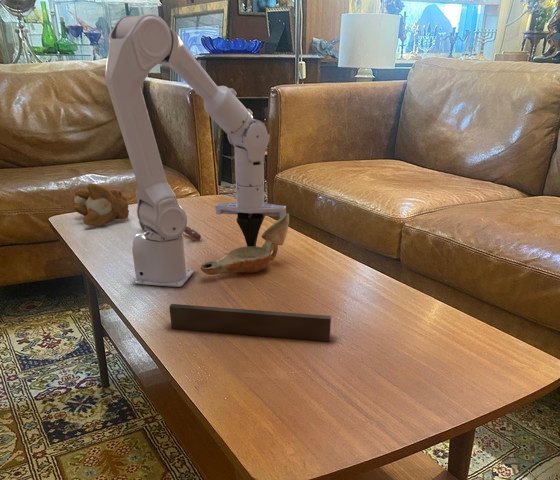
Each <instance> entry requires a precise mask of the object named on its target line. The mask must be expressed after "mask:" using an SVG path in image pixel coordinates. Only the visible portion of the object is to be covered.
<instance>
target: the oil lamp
mask: <svg viewBox="0 0 560 480" xmlns="http://www.w3.org/2000/svg"><path fill="white" fill-rule="evenodd" d="M289 225H290V214H289V212H286V216H285V217H284V218H281V217H280V218H279V219H277V221H274V223H272V224H271V225H270V226H269V227H268V228H267V229H266V230H264V232H263V233H262V235H261V238H262V240H265V241H264V243H263V244H262V246H256V247H255V246H247V245H245V246H238V247H235V248H232V249H231V250H229V251H226V252H224V256H223V257H221V258H219V259H217V260H216V259H212V260H210V261H206V262H205V261H204V262H203V263H201V264H200V267H199V268H200V270H201V271H202V273H204V274H206V275H209V276H215V275H221V274H233V273H244V274H245V273H248V274H252V273H257V272H260V271H262V270H263V269H264V268H266V266H267V265H268V264H269V262H271V261H273V260H274V259H275V258H276V256H277V254H278V251H279V246H283V245H284V243H285V240H286V237H287V234H288V228H289Z"/></svg>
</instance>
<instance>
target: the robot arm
mask: <svg viewBox="0 0 560 480" xmlns="http://www.w3.org/2000/svg"><path fill="white" fill-rule="evenodd" d="M108 43H109V47H108V52H107V53H108V54H107V59H106V66H105V71H104V72H105V73H104V79H105V83H106V87H107V90H108V94H109V97H110V100H111V103H112V107H113V110H114V113H115V116H116V120H117V123H118V126H119V129H120V133H121V136H122V139H123V142H124V146H125V148H126V152H127V154H128V158H129V162H130V164H131V165H130V166H131V168H132V172H133V174H134V177H135V181H136V184H137V188H136V191H135V197H136V201H137V203H136V204H137V205H136V216H137V219H138V222H139V221H140V222H141V223H142V224H143V225H144V227H145V229H144V231H143V233H137V234H136V235H135V236H134V237H133V240H132V245H131V246H132V247H131V249H132V251H131V252H132V260H133V266H134V267H133V268H134V275H135V279H136V280H135V281H134V284H135V285H145V286H161V287H173V288H181V287H182V286H184V285H185V283H186V282H187V281H188V280H189V279H190V277H191V276H192V275H193V274H194V270H193V269H187V266H186V256H185V255H186V254H185V246H184V245H185V244H184V243H185V242H184V233H185V232H184V230H185V228H186V226H188V225H187V224H188V216H187V213H186V211H185V210H184V209H183V207H181V205H180V204H179V202H178V198H177V196H176V193H175V192H174V190H173V189H172V187H171V186H170V185H169V183H168V180H167V176H166V172H165V170H164V166H163V162H162V158H161V154H160V151H159V148H158V144H157V141H156V137H155V134H154V130H153V126H152V122H151V119H150V116H149V112H148V108H147V104H146V100H145V97H144V94H143V89H142V85H143V84H144V82H145V81H146V79H147V77H148V75H149V74H150V72H151V71H152V70H153V69H154V68H155V67H157V65H162V66H165V67H169V68H170V69H172V70H173V71H174V72H175V73H176V74H177V75H178V76H179V78H180V79H182V80H183V81H184V82H185V84H187V85H188V86H189V87H190V88H191V89H192V90H193V91H194V92H195V93H196V94H197V95H198V96H199V97H201V99H202V100H203V102H204V103H203V107H204V111H205V113H206V114H207V115H208V116H209V117H210V118H211V119H212V120H213V121H214V122H215V123H216V124H217V125H218V126H219V128H221V129H222V131H224V133H225V134H226V135H227V140H228V142H229V144H230V145H232V146H233V147H234V149H233V150H234V171H235V172H234V173H235V194H236V195H235V197H236V198H235V199H236V201H235V202H217V203H216V204H215V205H214V207H215V215H219V216H220V215H236V216H237V217H236V219H235V220H236V223H237V225H238V227H239V228H240V230H241V232H242V235H243V237H244V240H245V243H246V244H245V245H246V246H255V247H257V242H258V237H259V233H260V229H261V227H262V224H263V222H264V220H265V217H279V218H280V219H281V218H284V217H285V216H286V214H287V205H280V204H273V203H266V202H265V158H266V155H265V154H266V148H267V147H268V145H269V142H270V137H271V135H270V134H269V133H268V130H267V127H266V125H265V123H263V121H261V120H259V119H257V118H256V119H255V118H254V116H253V111H252V110H251V109H250V108H246V106H245V105H244V104H243V102H241V101H240V100H239V98H238V97H237V95H238V94H237V93H238V92H236V89H234V88H231V87H227V86H226V85H217V84H216V82H214V80H213V78H211V76H210V74H209V73H208V72H207V71H206V70H205V69H204V68H203V66H202V65H201V64H200V62H199V61H198V60H197V59H196V58H195V56H194V55H193V54H192V53H191V52H190V50H189V49H188V48H187V46H186V45H185V44H184V43H183V41H182V39H181V38H180V36H179V34H178V33H177V32H176V31H175V30H174V29H172V28H171V27H170V26H169V24H168V23H167V22H166V21H165V20H164V19H163V18H162V17H160V16H159V15H157V14H155V13H145V14H143V15H132V14H131V15H130V14H129V15H124V16H121V17H120V18H119V19H118V20H117V21H116V23H115V25H114V26H113V27H112V29H111V30H110V32H109V34H108Z"/></svg>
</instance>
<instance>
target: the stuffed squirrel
mask: <svg viewBox="0 0 560 480" xmlns="http://www.w3.org/2000/svg"><path fill="white" fill-rule="evenodd" d="M86 188H87V189H83V188H81V189H80V188H77V190H76V191H75V194H74V196H73V197H72V204H73V205H74V206H73V207H72V208H73V210H74V212H76V213H78V214H79V215H80V216H84V218H83V220H82V222H83V224H84V225H86V226H104V225H106V224H108V223H110V222H113V221H114V220H119V221H122V220H125V219H129V216H130V210H129V203H128V201H127V197H126V196H125V195H124V193H123V192H122V189H120V190H119V189H118V188H115V189H113V190H109V189H108V188H106V187H104V186H102V185H99V184H96V183H88V184H87V186H86Z"/></svg>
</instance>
